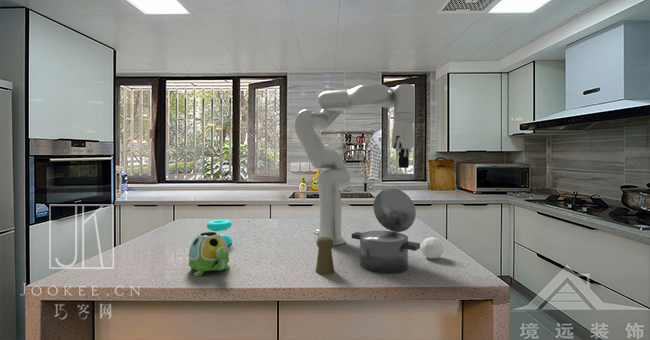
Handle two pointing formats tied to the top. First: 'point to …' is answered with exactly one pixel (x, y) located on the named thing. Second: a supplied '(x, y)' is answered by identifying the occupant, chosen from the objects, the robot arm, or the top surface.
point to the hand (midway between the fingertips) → (403, 167)
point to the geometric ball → (432, 248)
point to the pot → (384, 251)
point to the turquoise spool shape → (220, 228)
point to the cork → (324, 256)
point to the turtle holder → (208, 253)
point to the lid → (394, 210)
